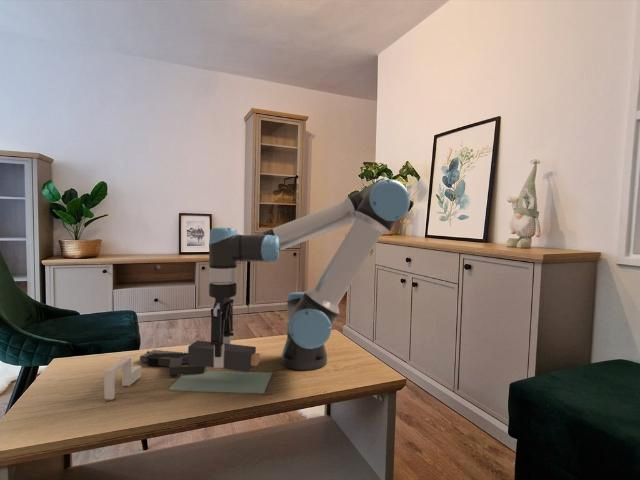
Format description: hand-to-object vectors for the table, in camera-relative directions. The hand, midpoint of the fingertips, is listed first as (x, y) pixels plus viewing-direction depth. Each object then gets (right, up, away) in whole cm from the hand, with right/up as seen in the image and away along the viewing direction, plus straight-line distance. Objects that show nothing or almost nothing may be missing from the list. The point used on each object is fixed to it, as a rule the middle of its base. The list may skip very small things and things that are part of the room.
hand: (222, 362), depth 103 cm
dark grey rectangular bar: (0, -1, 0) cm, 1 cm away
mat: (0, -6, 0) cm, 6 cm away
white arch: (-26, -5, -4) cm, 27 cm away
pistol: (-18, -5, +11) cm, 22 cm away
